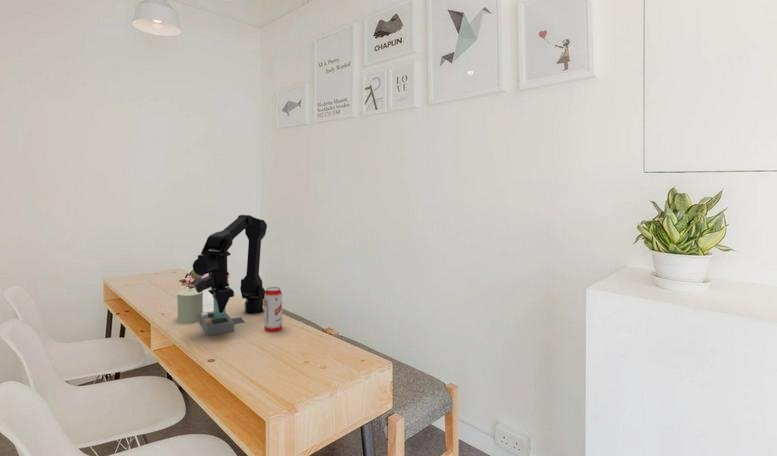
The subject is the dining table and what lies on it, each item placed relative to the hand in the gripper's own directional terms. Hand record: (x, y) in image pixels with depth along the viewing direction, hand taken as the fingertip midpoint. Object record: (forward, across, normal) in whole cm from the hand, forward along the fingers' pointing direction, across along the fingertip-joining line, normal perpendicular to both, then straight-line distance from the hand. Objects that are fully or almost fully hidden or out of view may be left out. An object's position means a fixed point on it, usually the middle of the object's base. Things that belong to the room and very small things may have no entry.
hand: (219, 311), depth 148 cm
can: (+8, -18, -8) cm, 21 cm away
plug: (+2, 0, 0) cm, 2 cm away
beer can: (+8, +9, +17) cm, 21 cm away
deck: (+8, -7, +7) cm, 13 cm away
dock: (+8, -4, -1) cm, 9 cm away
